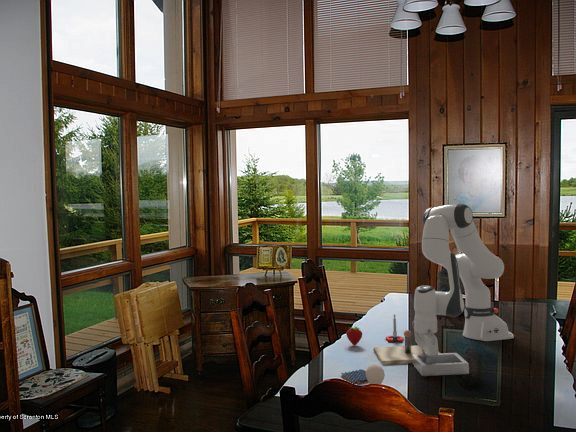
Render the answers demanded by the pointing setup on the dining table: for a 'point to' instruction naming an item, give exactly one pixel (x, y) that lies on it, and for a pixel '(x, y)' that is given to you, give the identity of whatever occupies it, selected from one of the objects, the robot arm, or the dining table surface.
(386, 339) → the tow hook
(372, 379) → the light bulb
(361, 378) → the woven mat
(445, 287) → the beer stein
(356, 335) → the strawberry
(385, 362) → the board
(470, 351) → the dining table surface
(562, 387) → the dining table surface
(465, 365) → the steel link
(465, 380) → the dining table surface
